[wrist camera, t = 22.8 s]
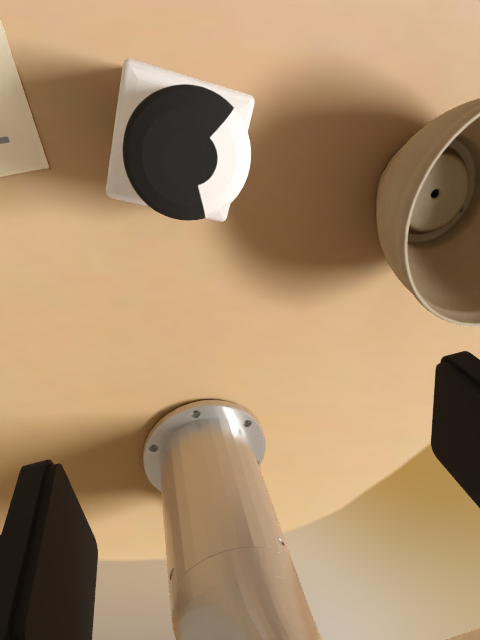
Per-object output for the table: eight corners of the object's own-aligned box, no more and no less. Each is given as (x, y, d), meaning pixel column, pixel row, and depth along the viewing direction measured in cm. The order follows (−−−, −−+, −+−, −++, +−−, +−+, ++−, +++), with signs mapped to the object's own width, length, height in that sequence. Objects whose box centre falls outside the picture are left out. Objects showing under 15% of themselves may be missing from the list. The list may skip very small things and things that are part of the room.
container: (109, 178, 34) (99, 218, 23) (125, 65, 31) (122, 45, 20) (208, 201, 36) (244, 247, 25) (231, 97, 33) (284, 96, 22)
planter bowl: (302, 183, 37) (361, 212, 28) (462, 42, 35) (586, 21, 26) (392, 309, 45) (463, 366, 35) (529, 199, 43) (644, 228, 33)
